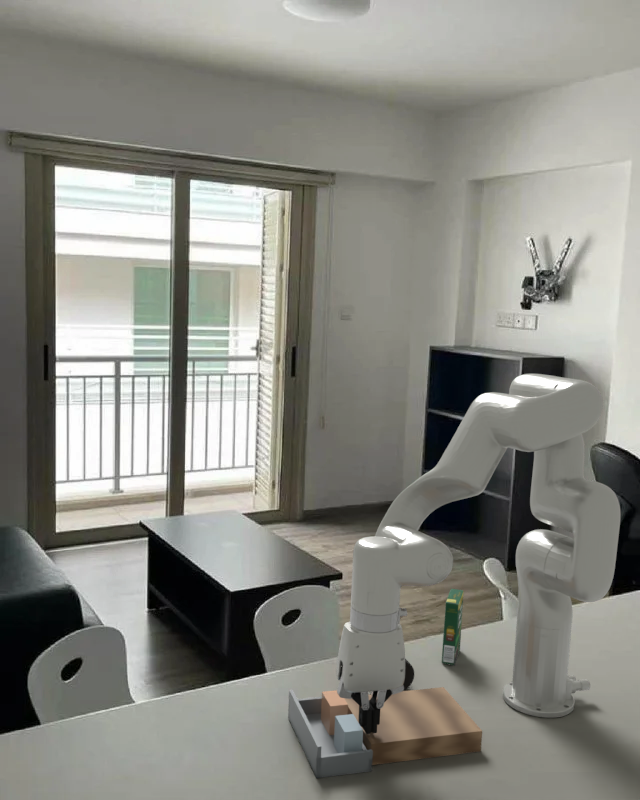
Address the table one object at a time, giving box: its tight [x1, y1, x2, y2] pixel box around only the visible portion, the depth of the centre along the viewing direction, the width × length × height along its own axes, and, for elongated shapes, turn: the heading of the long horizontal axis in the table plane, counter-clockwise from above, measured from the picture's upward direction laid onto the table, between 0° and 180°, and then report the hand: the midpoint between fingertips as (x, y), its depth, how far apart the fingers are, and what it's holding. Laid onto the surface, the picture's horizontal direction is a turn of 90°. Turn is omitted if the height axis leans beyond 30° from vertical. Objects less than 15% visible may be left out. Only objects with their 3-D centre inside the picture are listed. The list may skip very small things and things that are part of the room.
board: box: [344, 686, 483, 766], centre depth 136 cm, size 19×15×4 cm
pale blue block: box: [334, 714, 363, 753], centre depth 129 cm, size 5×5×3 cm
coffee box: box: [441, 588, 465, 666], centre depth 165 cm, size 8×3×13 cm, turn 163°
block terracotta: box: [321, 689, 348, 735], centre depth 136 cm, size 5×5×3 cm
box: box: [287, 689, 373, 779], centre depth 132 cm, size 9×18×5 cm, turn 16°
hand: (368, 728), depth 129 cm, fingers closed
